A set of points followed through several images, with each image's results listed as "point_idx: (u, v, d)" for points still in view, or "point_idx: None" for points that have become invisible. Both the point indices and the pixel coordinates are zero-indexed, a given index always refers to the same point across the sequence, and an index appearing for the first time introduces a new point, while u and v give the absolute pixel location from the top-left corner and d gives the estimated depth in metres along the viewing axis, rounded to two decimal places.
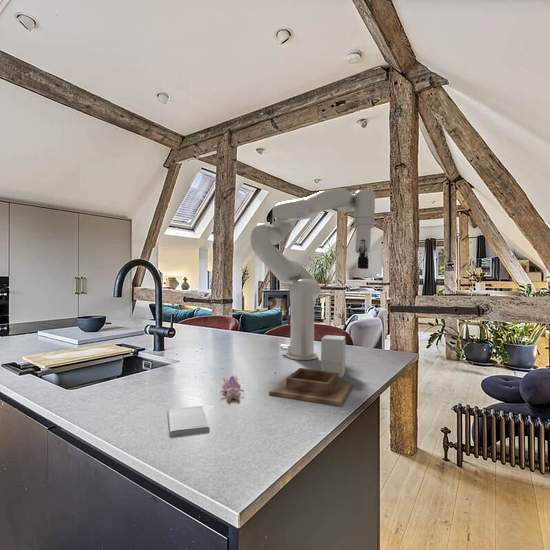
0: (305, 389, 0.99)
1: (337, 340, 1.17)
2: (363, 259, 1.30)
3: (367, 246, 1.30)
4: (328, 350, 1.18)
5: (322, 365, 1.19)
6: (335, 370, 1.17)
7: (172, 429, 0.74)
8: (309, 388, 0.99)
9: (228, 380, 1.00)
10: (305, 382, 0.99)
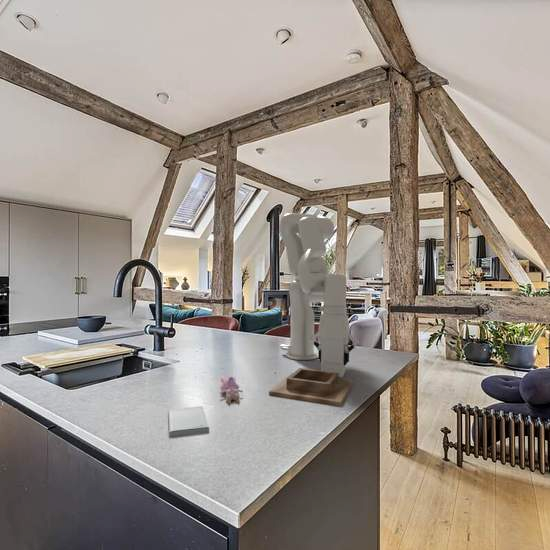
0: (305, 389, 0.99)
1: (337, 340, 1.17)
2: (348, 354, 1.19)
3: None
4: (328, 350, 1.18)
5: (322, 365, 1.18)
6: (335, 370, 1.17)
7: (172, 429, 0.74)
8: (309, 388, 0.99)
9: (226, 381, 0.99)
10: (305, 382, 0.99)
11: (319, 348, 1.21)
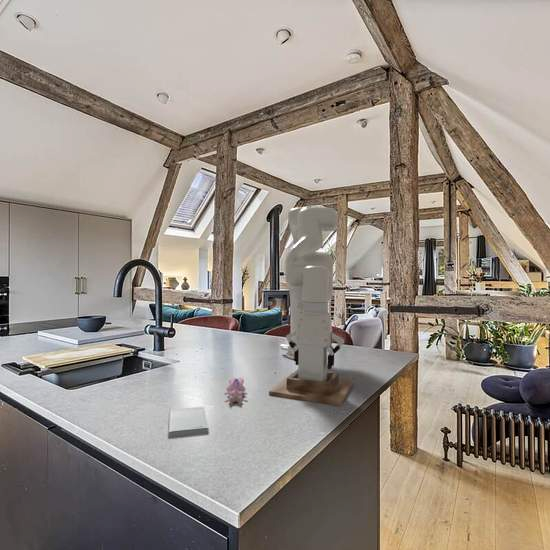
0: (305, 389, 0.99)
1: (316, 346, 1.01)
2: (333, 356, 1.03)
3: None
4: (306, 358, 1.02)
5: (299, 375, 1.03)
6: None
7: (171, 430, 0.74)
8: (309, 388, 0.99)
9: (233, 382, 0.98)
10: (305, 382, 0.99)
11: (295, 349, 1.06)
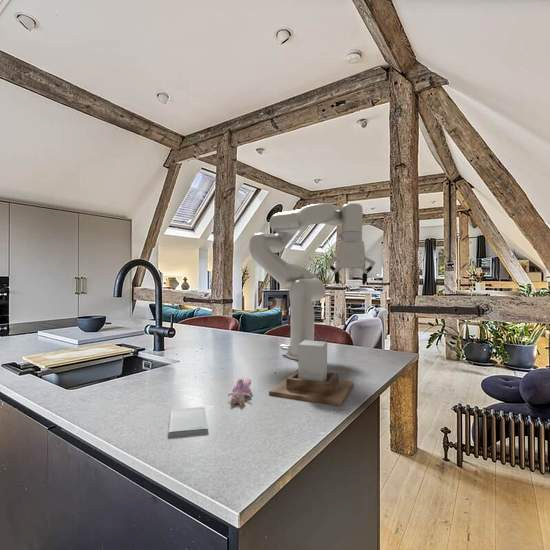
0: (305, 389, 0.99)
1: (316, 346, 1.01)
2: None
3: None
4: (306, 358, 1.02)
5: (299, 375, 1.03)
6: None
7: (171, 430, 0.74)
8: (309, 388, 0.99)
9: None
10: (305, 382, 0.99)
11: (335, 271, 1.33)
